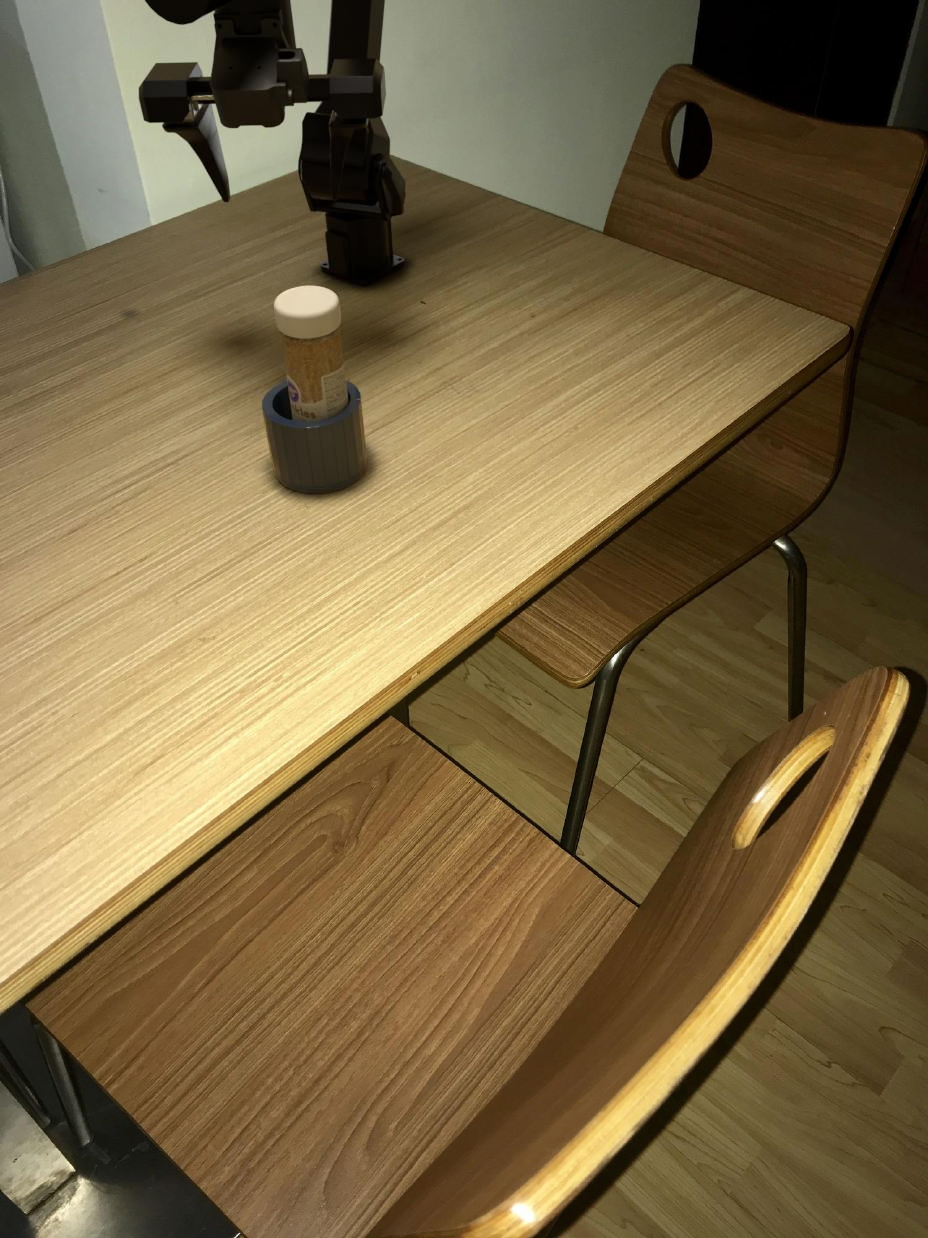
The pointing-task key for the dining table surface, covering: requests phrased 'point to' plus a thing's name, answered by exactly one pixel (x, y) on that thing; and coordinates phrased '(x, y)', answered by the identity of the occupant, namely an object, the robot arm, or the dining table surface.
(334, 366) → the sprinkles bottle
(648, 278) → the dining table surface
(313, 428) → the pot
